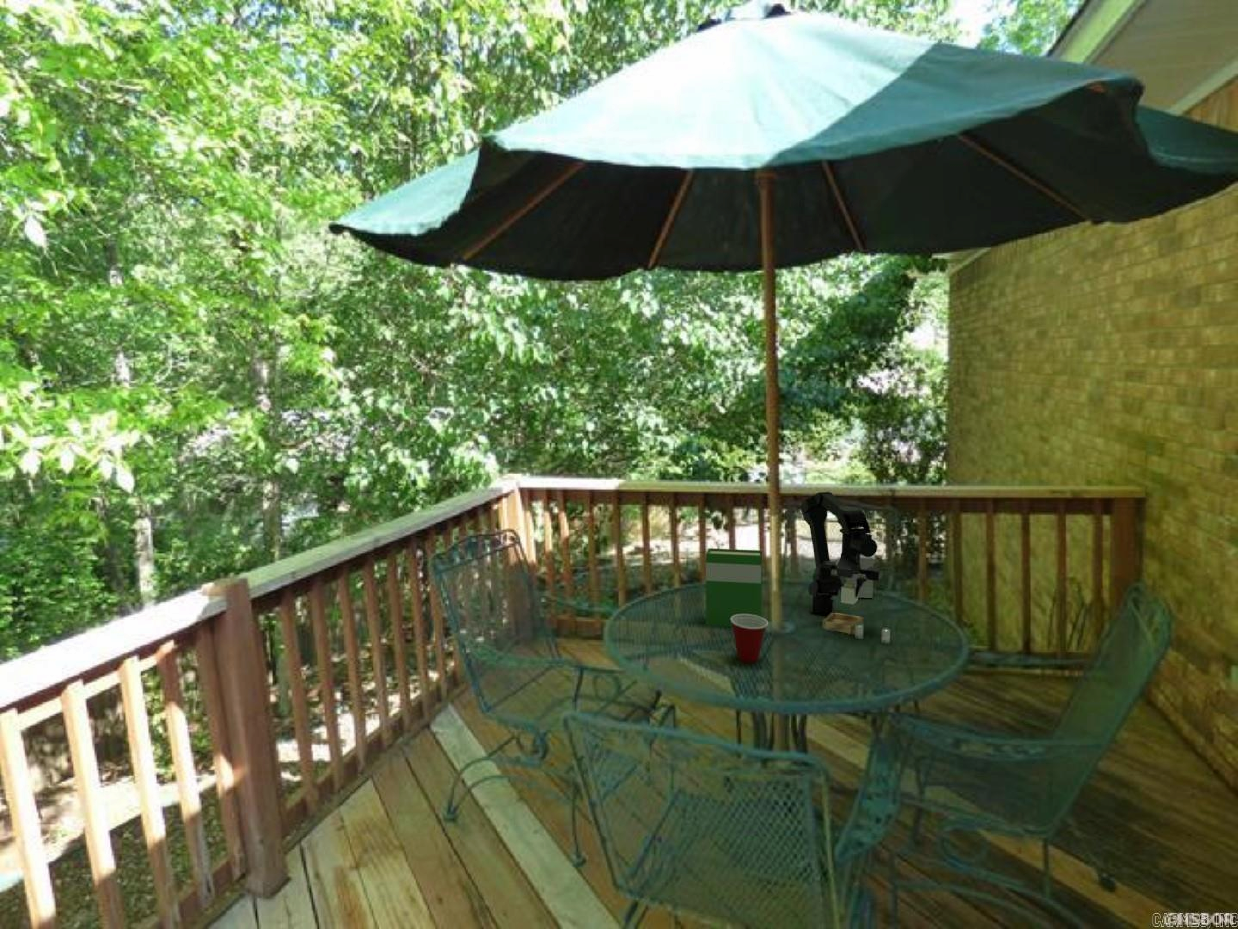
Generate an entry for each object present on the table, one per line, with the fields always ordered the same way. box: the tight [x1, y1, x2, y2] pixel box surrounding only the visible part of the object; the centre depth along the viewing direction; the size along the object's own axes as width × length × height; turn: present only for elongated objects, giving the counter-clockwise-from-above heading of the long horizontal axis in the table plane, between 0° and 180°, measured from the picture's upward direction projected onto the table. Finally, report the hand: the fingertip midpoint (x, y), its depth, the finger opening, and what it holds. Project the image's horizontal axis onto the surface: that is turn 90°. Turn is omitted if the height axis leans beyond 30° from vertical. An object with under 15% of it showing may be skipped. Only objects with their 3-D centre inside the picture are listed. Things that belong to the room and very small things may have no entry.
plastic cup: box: [730, 614, 769, 664], centre depth 219 cm, size 11×11×12 cm
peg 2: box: [880, 627, 891, 645], centre depth 232 cm, size 2×2×4 cm
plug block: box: [840, 580, 859, 605], centre depth 242 cm, size 4×5×6 cm
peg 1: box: [854, 624, 864, 640], centre depth 236 cm, size 2×2×4 cm
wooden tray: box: [821, 612, 864, 636], centre depth 246 cm, size 10×11×2 cm
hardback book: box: [705, 547, 763, 628], centre depth 250 cm, size 18×7×24 cm, turn 78°
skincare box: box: [846, 555, 874, 599], centre depth 276 cm, size 8×7×16 cm
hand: (849, 596), depth 243 cm, fingers closed on plug block, 4 cm apart
